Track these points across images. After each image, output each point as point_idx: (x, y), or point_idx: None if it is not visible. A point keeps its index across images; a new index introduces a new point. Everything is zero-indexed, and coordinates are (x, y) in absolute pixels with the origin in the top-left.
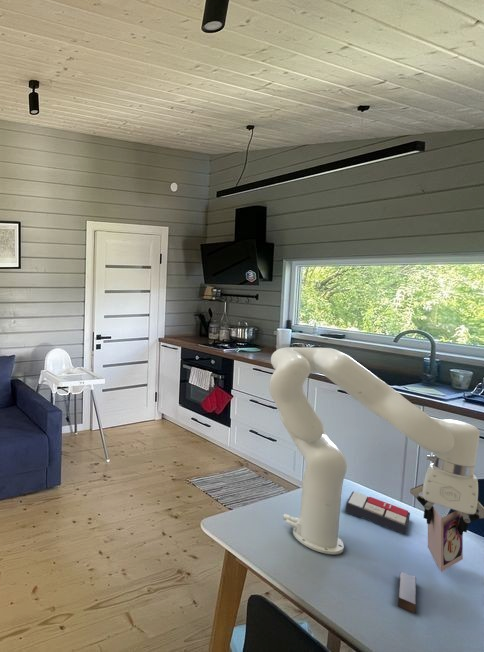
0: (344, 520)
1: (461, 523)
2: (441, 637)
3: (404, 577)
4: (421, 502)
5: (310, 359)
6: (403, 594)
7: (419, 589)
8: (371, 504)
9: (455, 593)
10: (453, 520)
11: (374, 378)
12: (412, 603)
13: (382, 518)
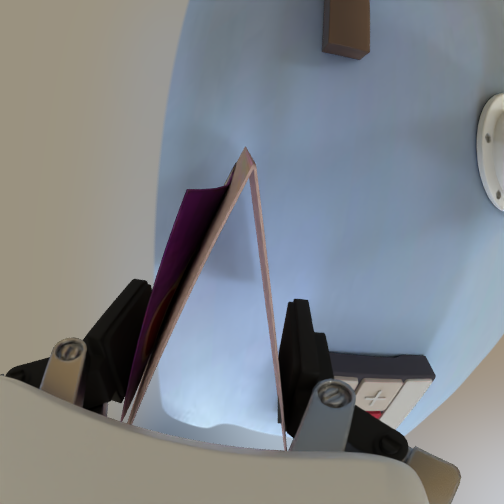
0: (440, 316)
1: (109, 329)
2: None
3: (359, 25)
4: (373, 426)
5: None
6: None
7: (311, 42)
8: (375, 408)
9: (216, 92)
10: (144, 324)
11: None
12: None
13: (363, 370)
